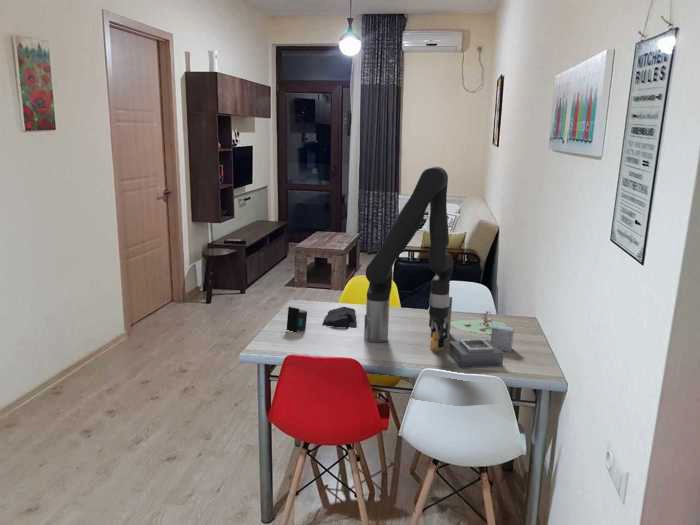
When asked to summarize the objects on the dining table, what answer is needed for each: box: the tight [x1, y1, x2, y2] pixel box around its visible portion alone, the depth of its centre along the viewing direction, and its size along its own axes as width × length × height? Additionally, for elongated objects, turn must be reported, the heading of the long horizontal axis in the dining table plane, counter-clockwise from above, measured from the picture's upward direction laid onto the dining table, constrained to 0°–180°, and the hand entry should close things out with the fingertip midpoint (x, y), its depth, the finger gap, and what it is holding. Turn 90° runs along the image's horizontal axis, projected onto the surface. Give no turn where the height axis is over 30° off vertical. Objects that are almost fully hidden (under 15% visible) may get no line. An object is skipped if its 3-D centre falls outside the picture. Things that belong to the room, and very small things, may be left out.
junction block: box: [448, 338, 505, 369], centre depth 209 cm, size 16×13×6 cm
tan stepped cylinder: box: [429, 331, 443, 352], centre depth 219 cm, size 5×5×6 cm
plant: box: [450, 310, 508, 334], centre depth 246 cm, size 25×21×9 cm
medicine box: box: [490, 325, 515, 352], centre depth 221 cm, size 8×4×9 cm, turn 65°
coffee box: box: [442, 296, 453, 341], centre depth 232 cm, size 9×6×16 cm
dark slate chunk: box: [322, 306, 358, 328], centre depth 250 cm, size 15×22×5 cm
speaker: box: [286, 306, 308, 333], centre depth 234 cm, size 8×6×10 cm
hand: (437, 343), depth 219 cm, fingers open, 8 cm apart
